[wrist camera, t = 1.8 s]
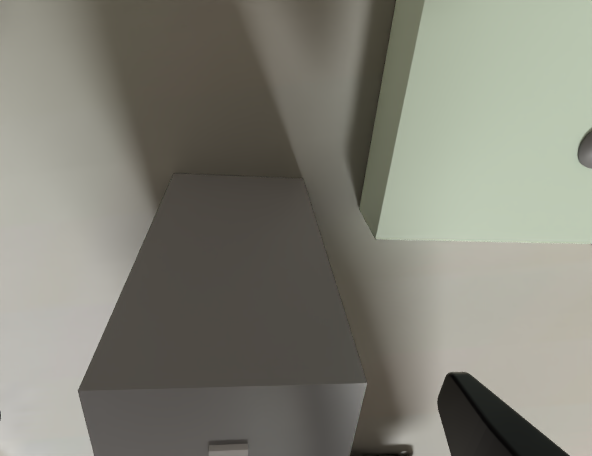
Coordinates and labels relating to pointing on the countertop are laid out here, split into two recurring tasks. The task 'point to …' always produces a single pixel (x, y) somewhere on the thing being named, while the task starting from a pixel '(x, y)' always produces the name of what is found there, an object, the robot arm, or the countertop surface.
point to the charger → (227, 332)
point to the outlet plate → (484, 124)
